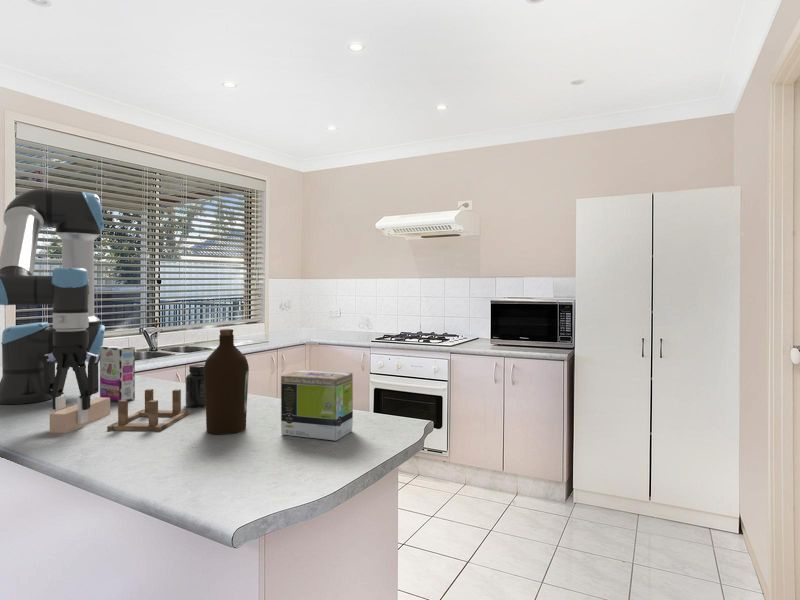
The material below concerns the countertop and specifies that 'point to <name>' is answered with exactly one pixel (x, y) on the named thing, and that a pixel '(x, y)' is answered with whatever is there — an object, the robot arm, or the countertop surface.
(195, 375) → the supplement bottle
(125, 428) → the rack
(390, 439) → the countertop surface
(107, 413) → the clay strip
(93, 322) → the robot arm
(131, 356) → the candy bar box
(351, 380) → the tea box
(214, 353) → the olive oil
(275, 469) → the countertop surface
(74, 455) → the countertop surface
